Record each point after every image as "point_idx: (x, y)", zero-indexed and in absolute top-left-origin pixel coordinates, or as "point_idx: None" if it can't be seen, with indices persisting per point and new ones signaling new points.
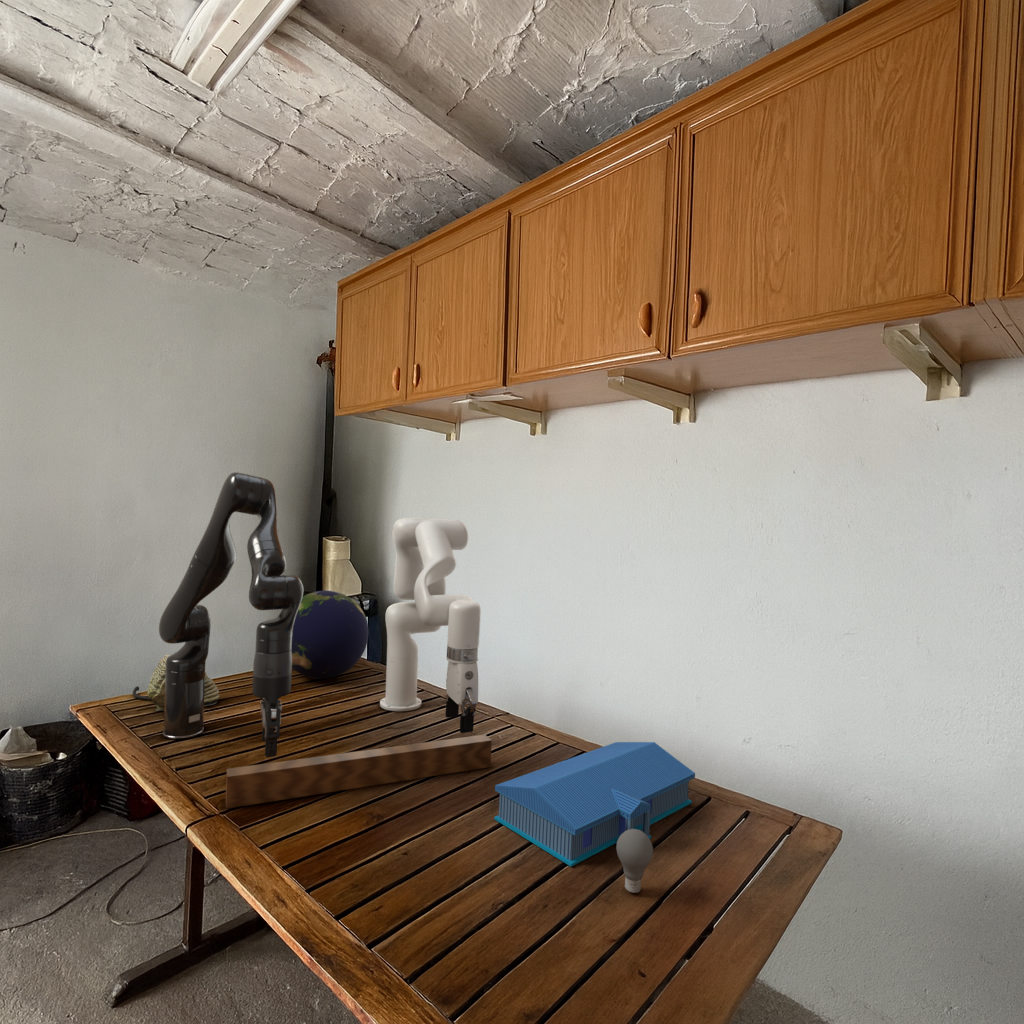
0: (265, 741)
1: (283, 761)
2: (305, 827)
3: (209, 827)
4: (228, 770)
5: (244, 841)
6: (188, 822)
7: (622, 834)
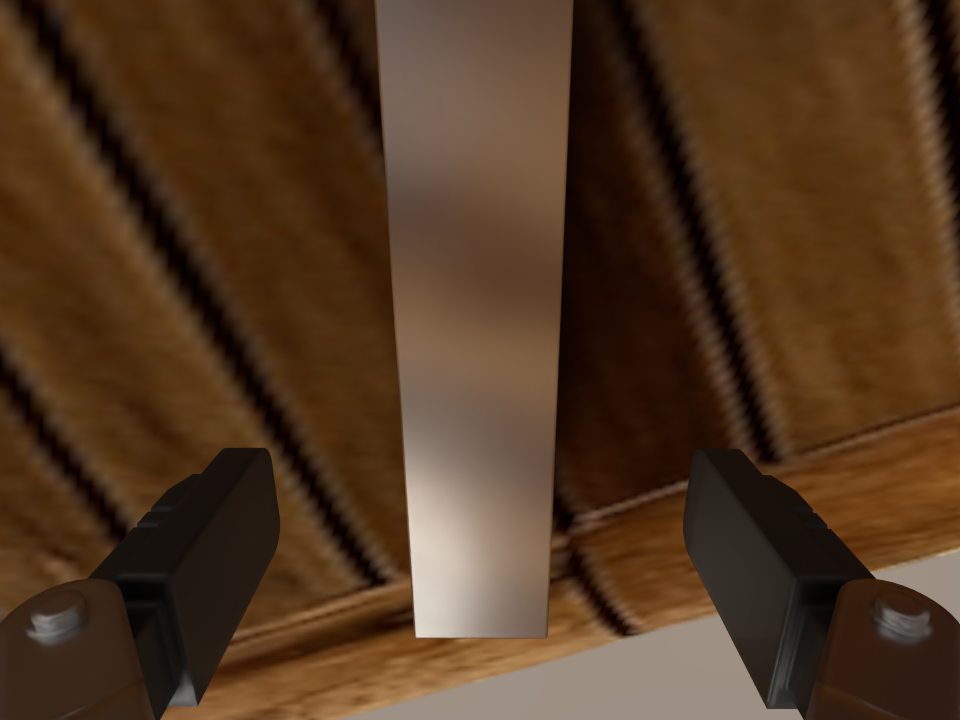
0: (753, 669)
1: (398, 278)
2: (940, 152)
3: (683, 570)
4: (446, 630)
5: (894, 450)
6: (598, 636)
7: None
